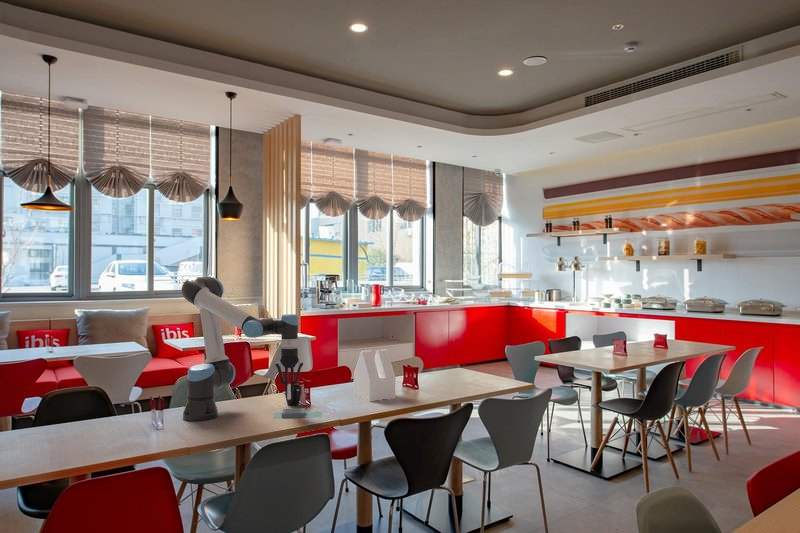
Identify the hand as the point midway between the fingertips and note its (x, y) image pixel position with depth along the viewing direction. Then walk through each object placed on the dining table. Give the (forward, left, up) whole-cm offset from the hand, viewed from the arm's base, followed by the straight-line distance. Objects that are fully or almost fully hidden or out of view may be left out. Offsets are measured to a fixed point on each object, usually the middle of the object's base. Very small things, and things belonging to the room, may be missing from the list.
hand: (289, 398), depth 254 cm
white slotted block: (+42, +38, -8) cm, 57 cm away
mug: (+1, +20, -8) cm, 22 cm away
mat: (+4, 0, -8) cm, 9 cm away
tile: (-3, 0, -7) cm, 7 cm away
